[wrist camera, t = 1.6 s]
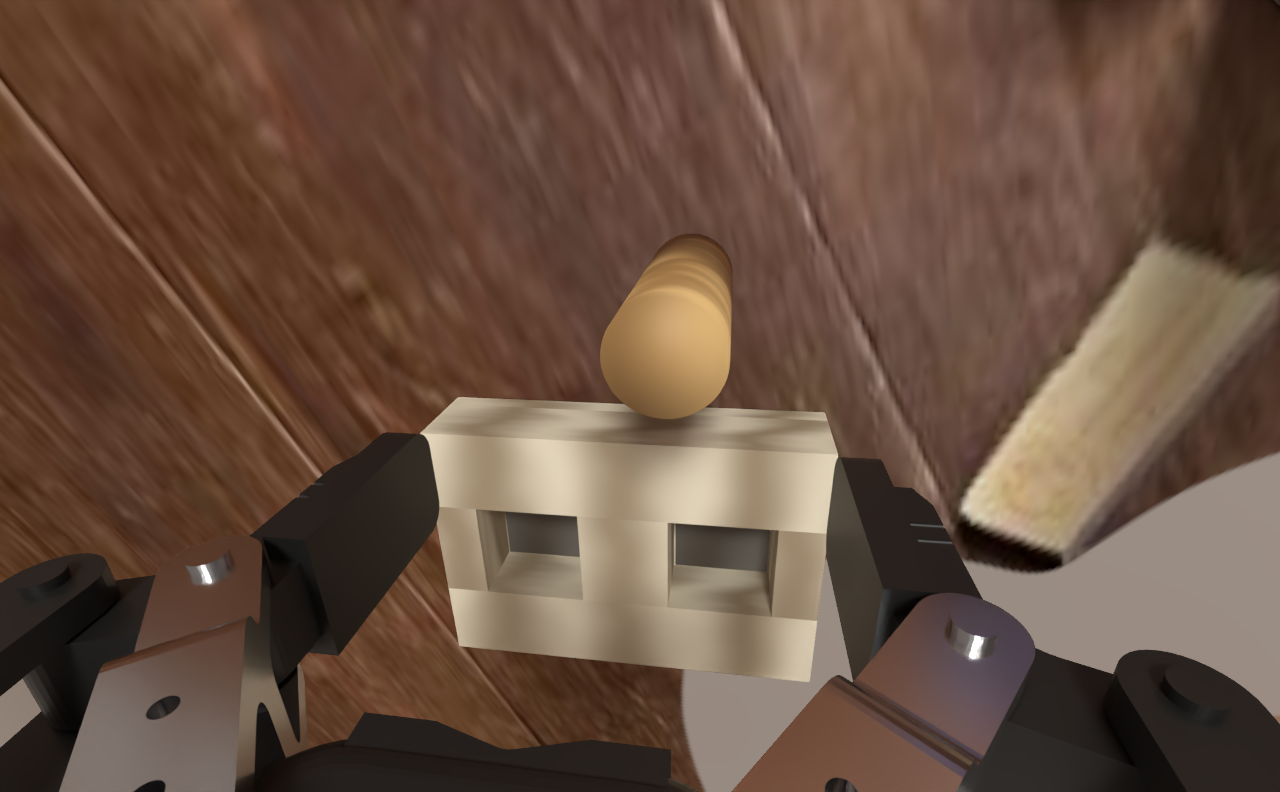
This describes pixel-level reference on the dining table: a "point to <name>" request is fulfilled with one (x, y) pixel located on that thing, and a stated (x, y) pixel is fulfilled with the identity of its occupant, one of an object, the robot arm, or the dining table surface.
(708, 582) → the hole block
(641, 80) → the dining table surface
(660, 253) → the peg
